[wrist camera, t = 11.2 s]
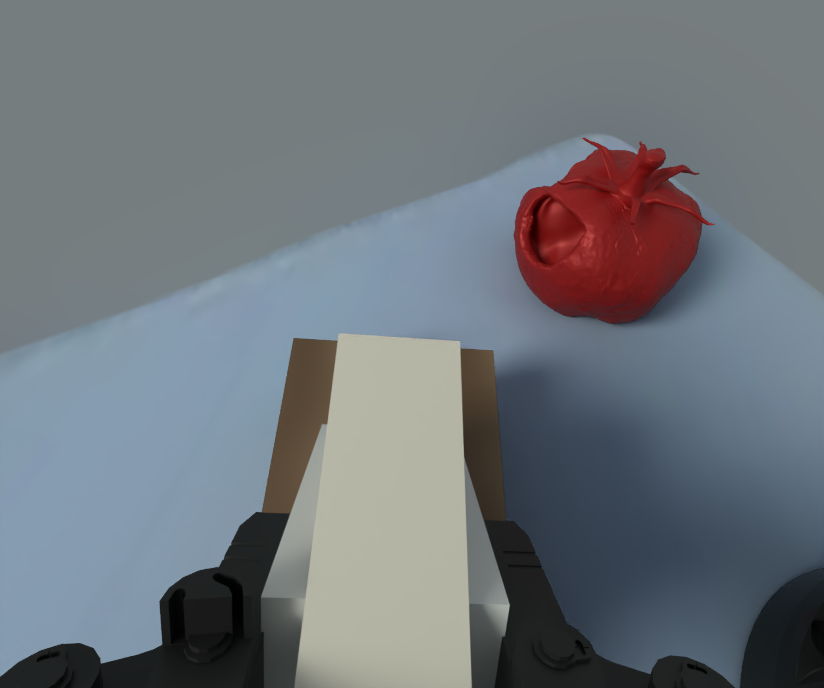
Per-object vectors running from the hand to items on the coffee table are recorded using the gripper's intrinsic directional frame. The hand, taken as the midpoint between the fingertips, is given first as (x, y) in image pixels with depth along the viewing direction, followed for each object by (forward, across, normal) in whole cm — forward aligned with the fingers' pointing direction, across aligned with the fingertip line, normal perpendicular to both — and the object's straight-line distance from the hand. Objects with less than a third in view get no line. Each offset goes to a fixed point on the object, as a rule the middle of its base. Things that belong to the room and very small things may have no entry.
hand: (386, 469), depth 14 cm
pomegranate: (+17, +12, +5) cm, 21 cm away
